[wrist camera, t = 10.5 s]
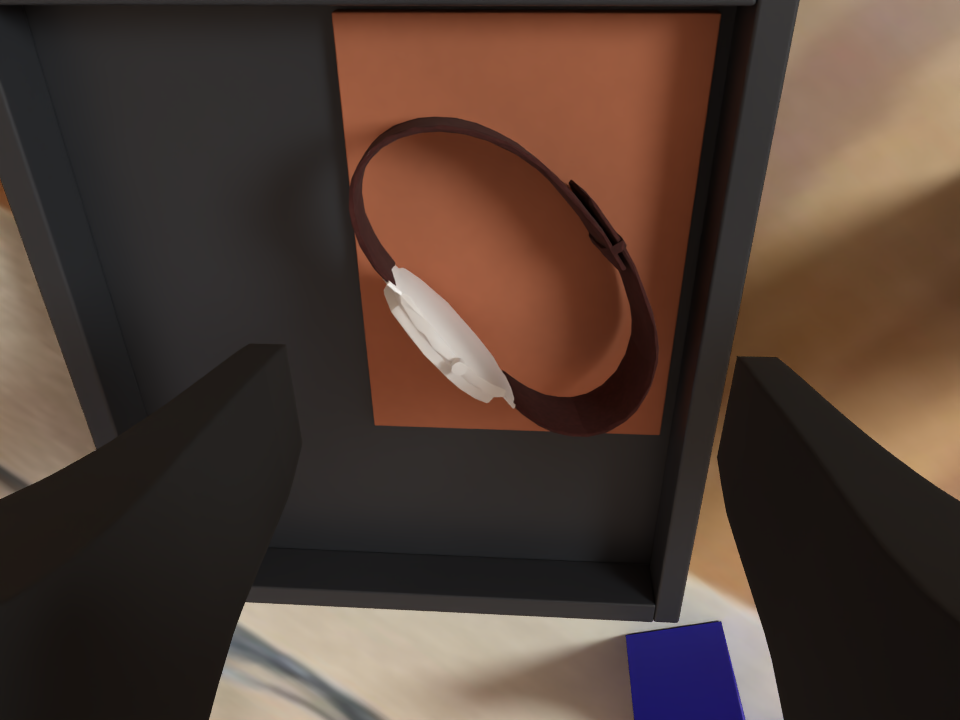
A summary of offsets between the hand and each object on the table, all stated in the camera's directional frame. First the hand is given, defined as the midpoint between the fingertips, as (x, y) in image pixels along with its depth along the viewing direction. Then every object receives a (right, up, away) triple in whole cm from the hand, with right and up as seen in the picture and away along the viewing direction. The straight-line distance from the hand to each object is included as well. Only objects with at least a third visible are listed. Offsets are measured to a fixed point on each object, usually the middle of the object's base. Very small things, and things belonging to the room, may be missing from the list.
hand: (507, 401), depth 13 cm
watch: (0, +3, +5) cm, 6 cm away
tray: (-2, +2, +7) cm, 7 cm away
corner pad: (0, +3, +5) cm, 6 cm away
